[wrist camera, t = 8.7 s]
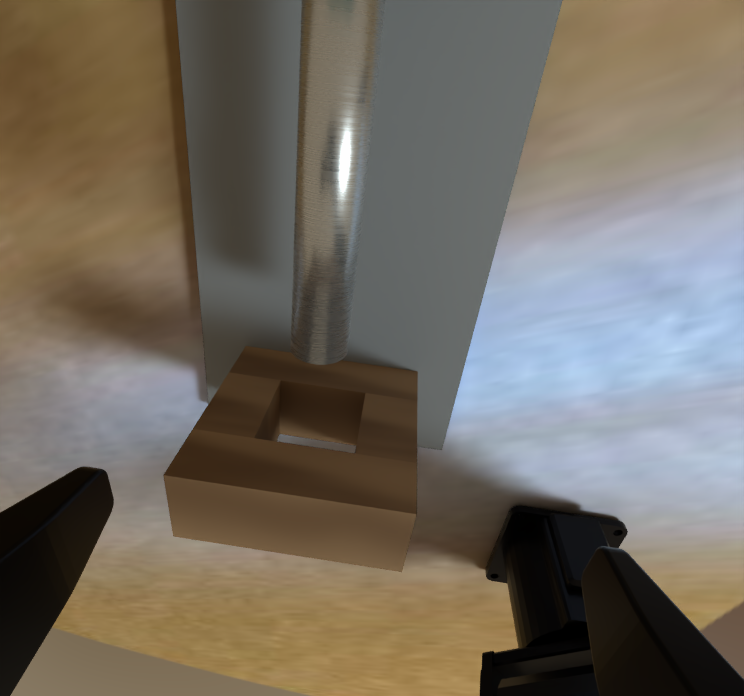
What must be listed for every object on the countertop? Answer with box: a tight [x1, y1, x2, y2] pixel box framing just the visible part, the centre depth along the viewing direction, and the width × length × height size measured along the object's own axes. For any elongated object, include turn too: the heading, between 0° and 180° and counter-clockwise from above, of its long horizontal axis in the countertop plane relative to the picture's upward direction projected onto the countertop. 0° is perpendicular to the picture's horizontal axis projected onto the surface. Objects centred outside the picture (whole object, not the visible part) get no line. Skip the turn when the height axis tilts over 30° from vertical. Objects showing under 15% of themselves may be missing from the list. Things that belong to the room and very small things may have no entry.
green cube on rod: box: [290, 0, 385, 365], centre depth 12 cm, size 17×4×7 cm, turn 173°
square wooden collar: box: [163, 346, 418, 572], centre depth 19 cm, size 3×8×8 cm, turn 83°
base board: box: [176, 0, 562, 450], centre depth 18 cm, size 24×12×1 cm, turn 173°
